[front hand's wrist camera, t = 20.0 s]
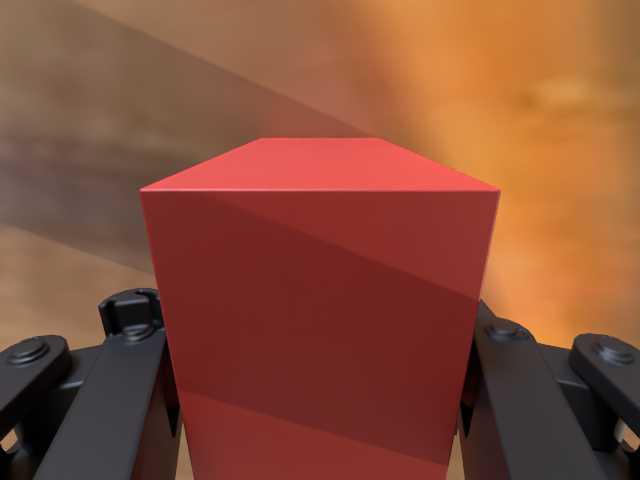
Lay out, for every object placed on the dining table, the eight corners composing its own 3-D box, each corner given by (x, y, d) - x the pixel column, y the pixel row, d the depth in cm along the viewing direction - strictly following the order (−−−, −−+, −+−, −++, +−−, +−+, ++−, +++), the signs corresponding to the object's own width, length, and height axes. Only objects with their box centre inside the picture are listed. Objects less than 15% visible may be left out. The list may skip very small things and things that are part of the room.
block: (271, 317, 18) (210, 568, 8) (260, 137, 15) (137, 189, 5) (369, 317, 18) (429, 568, 8) (380, 137, 15) (503, 189, 5)
